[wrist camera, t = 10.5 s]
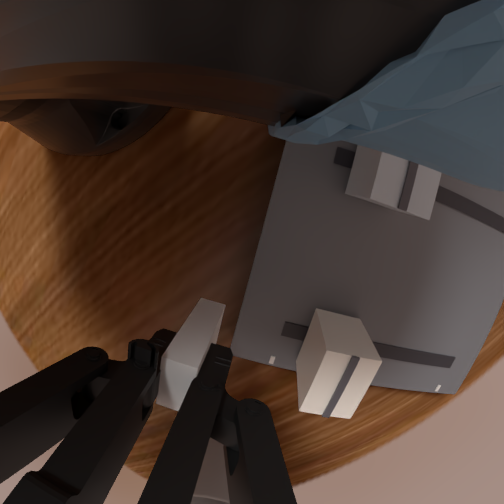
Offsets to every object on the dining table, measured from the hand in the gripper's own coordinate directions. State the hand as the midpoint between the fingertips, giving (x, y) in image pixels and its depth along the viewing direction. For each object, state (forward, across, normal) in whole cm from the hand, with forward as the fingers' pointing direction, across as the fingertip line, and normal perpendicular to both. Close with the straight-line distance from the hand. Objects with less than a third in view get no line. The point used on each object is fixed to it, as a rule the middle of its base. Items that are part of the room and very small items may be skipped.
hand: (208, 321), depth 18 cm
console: (+4, +11, +6) cm, 13 cm away
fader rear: (+1, +8, 0) cm, 8 cm away
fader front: (+1, +7, +11) cm, 13 cm away
